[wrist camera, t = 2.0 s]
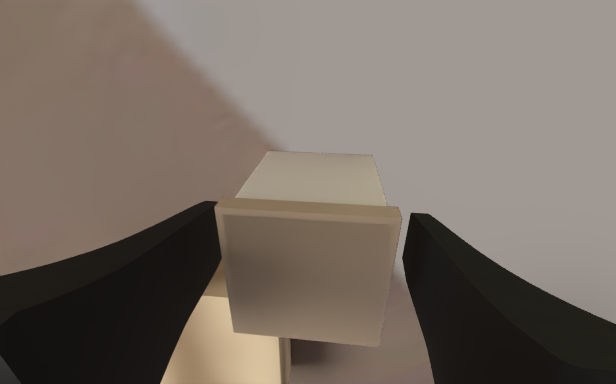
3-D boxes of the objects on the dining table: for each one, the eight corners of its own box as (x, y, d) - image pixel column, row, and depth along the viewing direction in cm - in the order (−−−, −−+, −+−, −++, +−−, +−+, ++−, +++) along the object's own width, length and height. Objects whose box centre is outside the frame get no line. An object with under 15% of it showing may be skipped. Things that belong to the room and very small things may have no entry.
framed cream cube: (377, 150, 12) (402, 218, 7) (366, 245, 14) (379, 346, 9) (264, 146, 13) (214, 207, 8) (269, 238, 15) (233, 332, 10)
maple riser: (288, 257, 15) (276, 302, 12) (291, 365, 19) (282, 417, 16) (126, 245, 16) (82, 284, 13) (161, 351, 20) (133, 398, 17)
